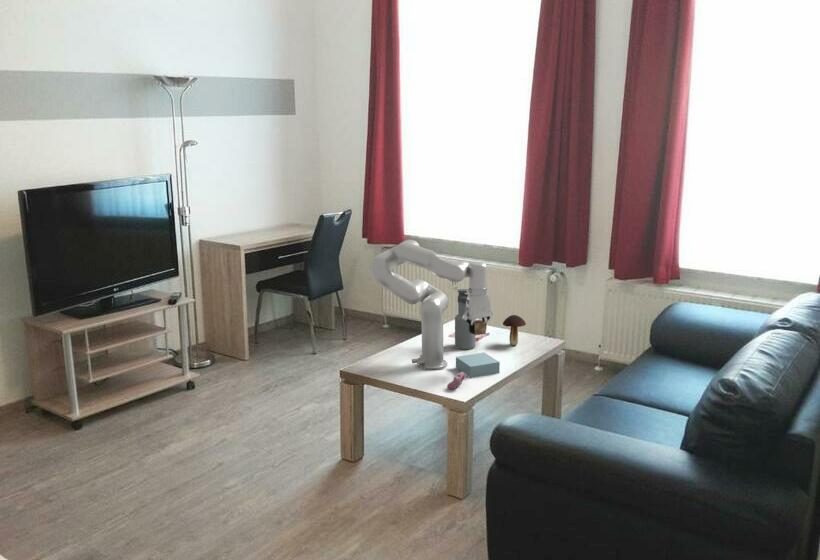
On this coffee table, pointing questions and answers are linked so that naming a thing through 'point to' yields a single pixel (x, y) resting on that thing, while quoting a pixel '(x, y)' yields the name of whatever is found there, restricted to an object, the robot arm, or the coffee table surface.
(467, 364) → the block
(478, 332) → the walnut cube
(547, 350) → the coffee table surface
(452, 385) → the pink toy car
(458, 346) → the water bottle
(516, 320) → the decorative mushroom
